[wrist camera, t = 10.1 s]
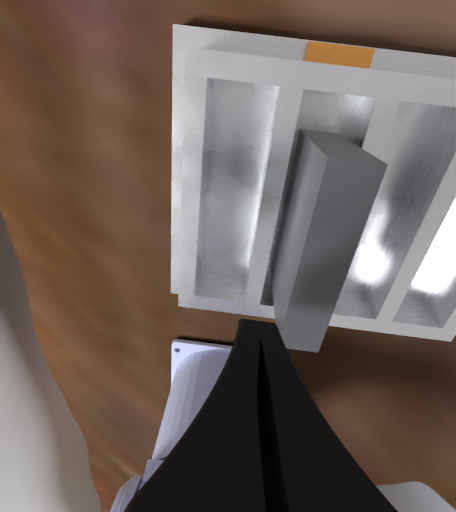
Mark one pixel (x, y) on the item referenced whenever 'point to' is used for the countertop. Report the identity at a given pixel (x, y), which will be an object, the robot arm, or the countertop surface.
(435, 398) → the countertop surface
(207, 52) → the rack
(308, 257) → the panel
